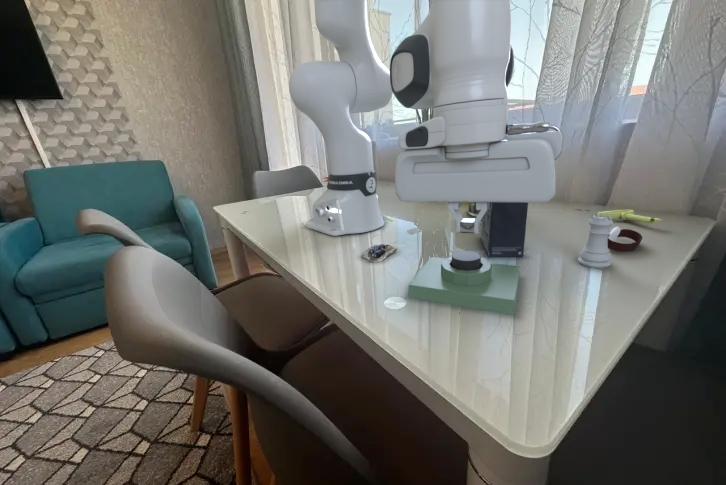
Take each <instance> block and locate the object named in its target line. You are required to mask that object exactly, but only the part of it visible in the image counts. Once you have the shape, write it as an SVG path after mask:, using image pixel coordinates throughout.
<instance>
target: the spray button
mask: <svg viewBox="0 0 726 485" xmlns="http://www.w3.org/2000/svg"><path fill="white" fill-rule="evenodd" d="M451 257H452V268H455V269H458V270H464V271H470V270H477V269H479V268H480V263H481V258H482V257H481V254H480V253H478V252H476V251H471V250H458V251H455V252H453V253H452V255H451Z"/></svg>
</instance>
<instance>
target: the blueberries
mask: <svg viewBox="0 0 726 485" xmlns="http://www.w3.org/2000/svg"><path fill="white" fill-rule="evenodd" d="M397 250H398V249H397V247H395V246H393V245H391V244H383V243H381V244H374V245H373V246H370V247H368V248H367V249H366V250H365V251H364V252H363V253H362V257H363V259H365V260H367V261H368V262H370V263H380V262H383V261H384V260H385V259H387V258H388V257H387V256H390V254H393V253H394V252H396V251H397Z"/></svg>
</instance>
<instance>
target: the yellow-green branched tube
mask: <svg viewBox="0 0 726 485" xmlns="http://www.w3.org/2000/svg"><path fill="white" fill-rule="evenodd" d="M596 214H600V217H603V214H605V215H607V217H606V218H608V216H609V215H610V216H611V217H612V218H611V220H612V219H613V220H615V219H616V220H617V219H622V220H623V221H629V220H630V221H636V222H641V223H646V224H650V225H652V224H654V223H656V222H662V221H663V218H659V217H650V216H644V215H639V214H635V210H633V209H616V210H615V209H614V210H605V211H598V212H597V213H596Z"/></svg>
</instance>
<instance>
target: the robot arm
mask: <svg viewBox="0 0 726 485" xmlns="http://www.w3.org/2000/svg"><path fill="white" fill-rule="evenodd" d="M510 2H511V1H510V0H432V1H431V5H430V7H429V11H428V13H427V15H426V16H425V18H424V19H423V21H422V22H421V23H420V24H419V26H418V27H417V28H416V30H415V31H414V32H413V33H412V34H411V35H408V36H406V37H405V38H404V39H403V40H402V41H401V42H400V43H399V45H398V46H397V47H396V49H395V50H394V52H393V53H392V55H391V57H390V61H389V69H388V67H387V66H386V65H384V64H383V63H382V62H383V61H381V59H380V58H379V55H378V54H377V52H376V50H375V47H374V44H373V41H372V38H371V34H370V28H369V20H368V0H314V1H313V3H314V17H315V27H316V28H317V31H318V32H319V34H320V35H321V36H322V37H323V38H324V40H326V41H328V42H329V43H331V44H332V46H333V47H334V49H335V50H336V52H337V54H338V58H339V60H313V61H309V62H305V63H300V64H297V65H296V66H295V67H294V68H293V70H292V72H291V75H290V79H289V82H288V90H289V95H290V98H291V101H292V103H293V104H294V106H295V107H296V108H297V109H298V110H299V112H301V113H303V114H304V115H305V116H307V117H308V118H309V119H310V120H311V121H312V122H313V124H315V126H316V127H317V129H318V130H319V133H320V134H321V136H322V138H323V141H324V144H325V148H326V154H327V159H328V166H329V175H328V176H326V177H323V178H322V179H323V183H327V184H326V188H327V189H326V190H325V191H324V192H322V194H321V195H320V196H319V197H318V199H317V200H315V202H314V203H313V205H312V209H311V211H312V212H311V213H312V219H309V220H308V221H306V222H305V223H304V226H305V228H307V229H311V230H314V231H316V232H320V233H323V234H326V235H329V236H332V237H336V236H337V237H338V236H343V235H352V234H362V233H367V232H372V231H375V230H377V229H380V228H381V227H383V226H384V225H385V220H384V219H383V215H382V212H381V208H380V203H379V200H378V194H377V185H378V181H377V172H376V170H375V167H374V155H373V152H374V151H373V142H372V139H371V137H370V136H369V135H368V134H367V133H366V132H365V131H363V130H361V129H359V128H358V127H356V125H355V124H354V122H353V120H352V117H351V114H359V113H370V112H374V111H377V110H380V109H383V108H385V107H387V106H388V105H389V103H390V102H391V100H392V97H393V95H394V97H395V98H396V100H397V101H398V102H399V103H400V104H401V106H403V107H404V108H406V109H412V110H430V109H432V111H433V112H432V114H433V117H432V118H430V119H429V120H426V121H424V122H421V123H420V124H417V125H416V126H413V127H410V128H408V129H407V130H404V131H402V132H400V134H399V135H398V137H397V139H398V141H397V142H398V146H399V148H400V149H401V150H402V151H401V152H400V153H399V154H398V155H397V157H396V161H395V167H394V191H395V196H396V197H397V199H398V200H399V201H400V202H403V203H405V202H406V203H407V202H409V203H411V202H412V203H413V202H415V203H420V202H421V203H423V202H424V203H426V202H427V203H430V202H431V203H447V211H448V212H449V213H450V215H451V217H452V218H453V220H454V222H456V233H457V234H469V235H471V234H472V235H479V233H481V221H482V217H483V216H484V214H485V213H486V211H487V210H488V208H489V202H517V203H528V204H529V203H533V204H534V203H535V204H536V203H537V204H539V203H540V204H544V203H548V202H550V200H552V199H553V198H554V197H555V195H556V180H557V179H556V165H555V161H556V160H558V158H559V157H560V156H561V154H562V153H563V147H564V133H563V131H562V130H561V128H560V127H558V126H556V125H555V124H550V122H549V121H538V122H536V123H518V124H517V123H516V124H508V113H509V112H508V110H509V108H508V107H509V93H508V89H507V88H508V87H509V86H510V83H511V81H512V78H513V75H514V71H515V54H514V50H513V47H512V42H511V38H512V20H511V18H512V14H511V3H510ZM550 129H551V131H550ZM469 202H476V210H480V209H481V211H480V212H479V214H478V215H477V217H475V218H464V216H463V214H462V212H461V210H460V208H461V207H462V205H463V204H462V203H469Z"/></svg>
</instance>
